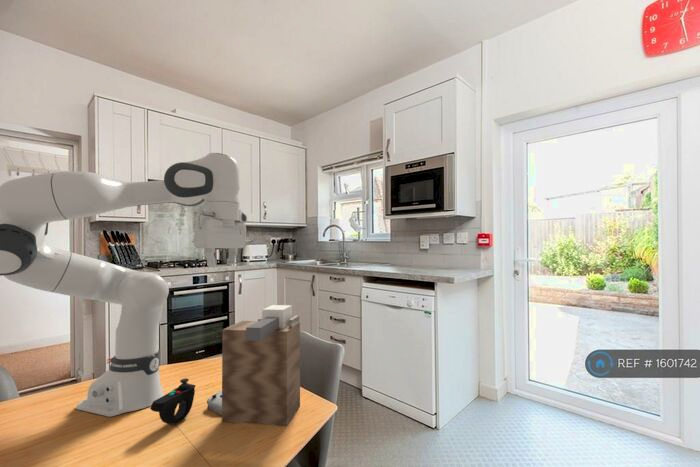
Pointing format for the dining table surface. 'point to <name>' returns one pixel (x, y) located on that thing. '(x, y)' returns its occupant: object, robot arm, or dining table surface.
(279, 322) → the grey and white block
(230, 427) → the dining table surface
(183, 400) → the controller
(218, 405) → the gaming controller
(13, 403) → the dining table surface
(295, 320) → the brown wood grain box
